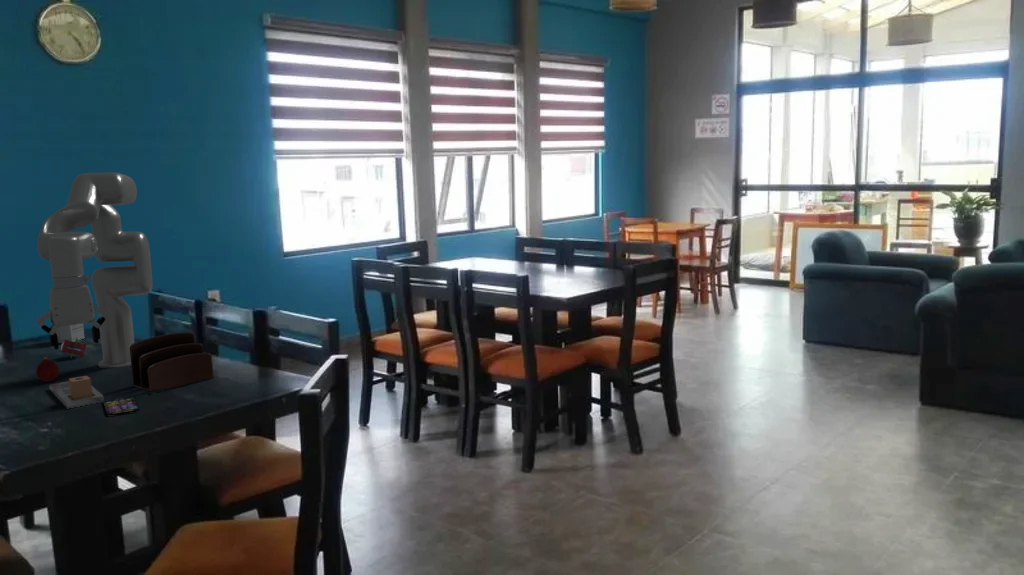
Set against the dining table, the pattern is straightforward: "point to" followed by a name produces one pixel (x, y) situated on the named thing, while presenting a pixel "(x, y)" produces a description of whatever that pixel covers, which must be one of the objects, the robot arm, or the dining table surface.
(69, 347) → the red box
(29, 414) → the dining table surface
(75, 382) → the brown rectangular block
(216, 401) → the dining table surface
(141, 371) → the letter holder
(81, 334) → the supplement box
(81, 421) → the dining table surface
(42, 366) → the onion
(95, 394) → the pale grey slotted tray
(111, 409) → the smartphone
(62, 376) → the dining table surface
